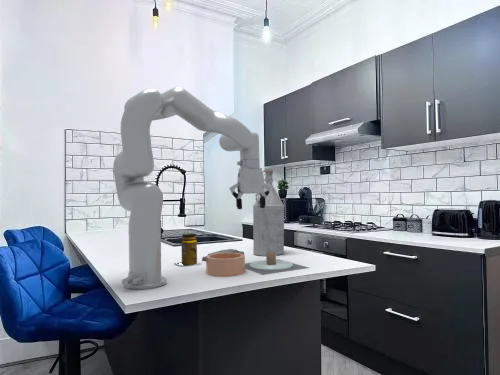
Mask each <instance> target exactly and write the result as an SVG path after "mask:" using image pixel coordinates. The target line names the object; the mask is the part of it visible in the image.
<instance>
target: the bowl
mask: <svg viewBox="0 0 500 375" xmlns="http://www.w3.org/2000/svg"><path fill="white" fill-rule="evenodd" d="M209 254H210V253H209ZM207 255H208V254H207ZM207 255H206V261H205V265H206V266H205V271H206V274H207V275H208V276H212V277H236V276H241V275H244V273H245V272H246V269H245V263H246V255H245V254H244V255H243V254H240V253H215V254H210V255H208V256H207Z"/></svg>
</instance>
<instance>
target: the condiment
mask: <svg viewBox="0 0 500 375" xmlns="http://www.w3.org/2000/svg"><path fill="white" fill-rule="evenodd" d="M181 239H182V240H181V244H180V245H181V262H173V264H174V265H176V263H177V264H179V263H182V264H183V266H182V267H185V266H184V265H188V266H195V265H194V264H197V263H198V264H197V265H201V263H199V262H198V242H197V236H196V233H191V232H190V233H189V232H188V233H183V234H182V238H181ZM197 265H196V266H197Z"/></svg>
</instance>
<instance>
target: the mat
mask: <svg viewBox="0 0 500 375" xmlns="http://www.w3.org/2000/svg"><path fill="white" fill-rule="evenodd" d="M276 260H281V261H284V260H283V259H278V258H276ZM250 263H251V262H247V263H246V262H245V270H247V271H251V272H253V273H256V274H258V275H262V276H264V275H271V274H278V273H283V272H291V271H292V272H293V271H297V270H304V269H310V267H309V266H304V265H300V264H297V263H294V262H292V263H293V267H292V268H290V269H287V270H279V271H262V270H255V269H252V268H250Z"/></svg>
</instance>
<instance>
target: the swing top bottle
mask: <svg viewBox="0 0 500 375" xmlns="http://www.w3.org/2000/svg"><path fill="white" fill-rule="evenodd" d="M263 169H264V170H262V171H263V176H265V178H264V183H265V184H267V185H269V186H271V190H270V192H269V194H268V195H267V197H266V198H265V201H266V205H265V208H260V198H261V196H260V195H259V194H258V193H255V194H254V195H255V196H254V197H255V202H254V204H253V205H252V206H253V208H252V209H253V210H252V211H253V212H252V214H253V217H252V219H253V224H252V225H253V231H252V232H253V236H252V237H253V244H252V246H253V255H255V256H262V257H266V252H269V251H273V252H276V256H282V255H283V254H284V253H285V246H284V245H285V236H284V235H285V205H284V203H283V201H282V200H281V197H280V196H279V194H278V193H277V192H278V191H276V189H275V187H274V184H273V183H274V181H275V179H274V178H273V174H274V171H275V170H274V168H273V167H268V166H265V167H264V168H263ZM265 191H266V188H265ZM265 191H264V192H265Z"/></svg>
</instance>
